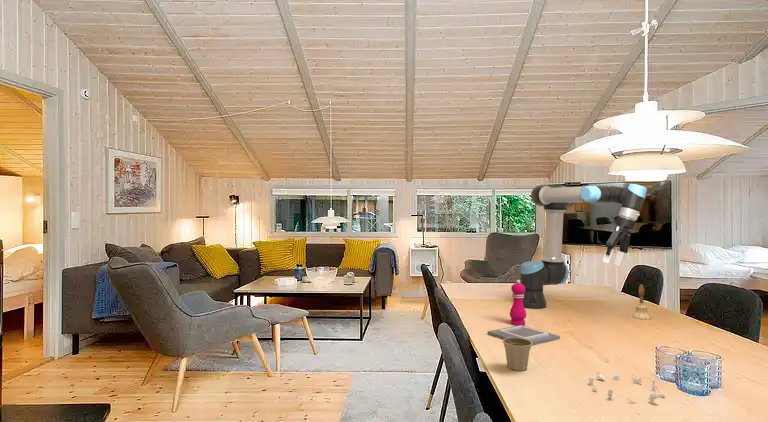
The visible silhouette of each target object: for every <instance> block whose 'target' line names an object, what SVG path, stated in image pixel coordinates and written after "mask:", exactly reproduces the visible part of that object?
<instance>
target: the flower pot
mask: <svg viewBox="0 0 768 422" xmlns="http://www.w3.org/2000/svg"><path fill="white" fill-rule="evenodd" d="M502 343H503V346H504V350H505V358H506V365H507V366H506V367H507V368H508V369H509V370H514V371H515V372H516V371H519V372H521V371H526V370H527V369H528V364H529V358H530V350H531V349H532V346H533V345H532V344H533V343H532V342H531V341H530V340H527V339H523V338H506V339H502ZM531 345H532V346H531Z"/></svg>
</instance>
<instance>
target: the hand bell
mask: <svg viewBox="0 0 768 422" xmlns="http://www.w3.org/2000/svg"><path fill="white" fill-rule="evenodd" d="M637 292H638V297H639V304H638V305H636V307H635V311H634V313H633V314H631V317H632V318H634V317H635V318H634V319H637V318H642V319H641V320H650V319H649V318H651V319H652V316H651V315H650V314H649V311H648V306H646V305H644V296H645V287H644V284H643V283H641V284H639V287H638V291H637Z"/></svg>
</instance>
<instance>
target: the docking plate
mask: <svg viewBox="0 0 768 422" xmlns="http://www.w3.org/2000/svg"><path fill="white" fill-rule="evenodd" d="M487 335H489V336H492V337H495V338H498V339H501V340H503V339H506V338H523V339H527V340H530V341H531V342H532V343H533V344H532V345H531V347H533V346H536V345H540V344H544V343H549V342H554V341H557V340H560V339H561V336H560V335H558V334H555V333H550V332H547V331H544V330H540V329H535V328H534V327H530V326H525V325H523V326H522V325H518V326H516V325H513V326H509V327H504V328H497V329H494V330H488V331H487Z"/></svg>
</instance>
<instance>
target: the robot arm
mask: <svg viewBox="0 0 768 422" xmlns="http://www.w3.org/2000/svg"><path fill="white" fill-rule="evenodd" d="M647 192H648V188H647V187H646V186H644V185H640V184H638V183H637V184H636V183H629V185H628V187H621V186H616V185H605V186H604V185H601V186H600V185H585V186H584V185H583V186H566V185H560V184H557V185H556V184H539V185H536V186H535V187H533V189H532V190H531V193H530V199H531V201H532V202H533V204H534V205H536V206H539V207H542V208H543V211H545V212H546V217H545V220H546V223H545V243H544V244H545V245H544V256H543V257H542V258H541V261H540V260H529V261H525V262H523V263H522V264H521V265H520V270H519V271H520V272H519V274H520V283H521V284H523V285H524V286H525V292H524V293H523V294H524V298H523V306H524V309H526V308H527V309H545V308H547V301H546V297H545V294H544V286H557V285H561V284H564V283H565V282H566V281H567V279H568V277H569V268H568V266H567V265H566V264H565V260H564V259H563V258H562V253H563V252H562V250H563V232H564V231H563V230H564V213H566V212H567V208H568V207H569V206H570V205H571V203H589V204H590V203H591V204H593V203H601V204H602V203H607V204H609V203H610V204H611V203H612V204H619V205H620V204H621V207H620V211H619V213H618V217H617V219H616V222H615V226H614V229H613V231H612V233H611V234H610V236H609V238H608V239H607V241H606V242H605V243H606V244H605V245H604V246H605V247H606V250H605V253H604V255H603V259H602V262H604V263H607V264H610V261H611V259H612V256H613V254H614V250H615V247H616V246H617V244H618V243H619V250H618V251H617V254H616V257H615V259H614V263H613V265H615V266H617V267H621V265H622V262H623V260H624V257H625V254H628V252H629V246H630V239H631V235H632V231H629V230H634V229H635V227H636V224H637V222H636V221H638V218H639V217H640V216H641V215H640V213H641V212H640V211H641V208H642V206H643V203H644V201H645V199H646V195H647Z"/></svg>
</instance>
